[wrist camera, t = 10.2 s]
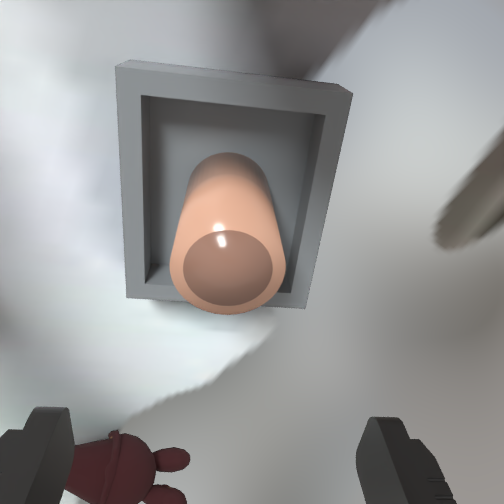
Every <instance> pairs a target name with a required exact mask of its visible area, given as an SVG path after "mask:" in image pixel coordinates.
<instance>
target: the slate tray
mask: <svg viewBox="0 0 504 504" xmlns="http://www.w3.org/2000/svg"><path fill="white" fill-rule="evenodd" d="M115 76H116V96H117V116H118V136H119V156H120V177H121V197H122V217H123V237H124V257H125V277H126V298H135V299H152V300H168V301H185V302H188V301H187V300H186V299H184V298H183V297H182V295H181V294H180V293H179V292H178V290H177V289H176V287H175V285H174V284H173V281H172V278H171V274H170V257H171V253H172V249H173V245H174V240H175V236H176V232H177V228H178V223H179V219H180V215H181V211H182V207H183V202H184V198H185V194H186V190H187V185H188V181H189V178H190V176H191V173H192V172H193V170H194V169H195V167H196V166H197V165H198V164H199V163H200V162H201V161H203V160H204V159H206V158H207V157H209V156H211V155H214V154H218V153H224V152H232V153H238V154H241V155H244V156H246V157H248V158H250V159H252V160H253V161H254V162H256V163H257V164H258V165H259V166H260V168H261V169H262V170H263V172H264V174H265V176H266V178H267V181H268V185H269V189H270V194H271V198H272V203H273V207H274V212H275V216H276V221H277V225H278V229H279V234H280V238H281V243H282V247H283V252H284V256H285V262H286V269H285V275H284V279H283V282H282V284H281V286H280V288H279V289H278V291H277V292H276V293H275V295H274V296H273V297H272V298H271V299H270V300H268V301H267V302H266V303H264V304H263V305H261V306H268V307H285V308H301V309H305V308H306V303H307V299H308V294H309V290H310V285H311V281H312V276H313V272H314V267H315V262H316V258H317V254H318V249H319V245H320V240H321V236H322V231H323V227H324V222H325V218H326V214H327V209H328V204H329V200H330V195H331V191H332V187H333V182H334V177H335V173H336V169H337V164H338V159H339V154H340V151H341V146H342V141H343V137H344V133H345V128H346V124H347V119H348V114H349V110H350V106H351V101H352V96H353V93H351V92H350V91H348V90H346V89H345V88H343V87H342V86H340V85H338V84H334V83H324V82H316V81H308V80H299V79H291V78H282V77H274V76H265V75H257V74H248V73H239V72H231V71H222V70H214V69H205V68H197V67H188V66H179V65H171V64H162V63H154V62H145V61H137V60H128V61H126V62H124V63H121V64H119V65H117V66H115Z"/></svg>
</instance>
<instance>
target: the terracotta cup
mask: <svg viewBox="0 0 504 504" xmlns="http://www.w3.org/2000/svg"><path fill="white" fill-rule="evenodd" d="M285 269H286V262H285V256H284V252H283V247H282V243H281V238H280V234H279V229H278V225H277V221H276V216H275V212H274V207H273V203H272V198H271V194H270V189H269V185H268V181H267V178H266V176H265V174H264V172H263V170H262V169H261V168H260V166H259V165H258V164H257V163H256V162H254V161H253V160H252V159H250V158H248V157H246V156H244V155H241V154H238V153H232V152H224V153H218V154H214V155H211V156H209V157H207V158H206V159H204V160H203V161H201V162H200V163H199V164H198V165H197V166H196V167H195V169H194V170H193V172H192V173H191V176H190V178H189V181H188V185H187V190H186V194H185V198H184V202H183V207H182V211H181V215H180V219H179V223H178V228H177V232H176V236H175V240H174V245H173V249H172V253H171V257H170V274H171V278H172V281H173V284H174V285H175V287H176V289H177V290H178V292H179V293H180V294H181V295H182V297H183V298H184V299H186V300H187V301H188V302H189V303H191V304H192V305H194V306H195V307H197V308H200V309H202V310H204V311H207V312H211V313H215V314H225V315H231V314H240V313H244V312H248V311H251V310H253V309H256V308H258V307H260V306H261V305H263V304H264V303H266V302H267V301H268V300H270V299H271V298H272V297H273V296H274V295H275V293H276V292H277V291H278V289H279V288H280V286H281V284H282V282H283V279H284V275H285Z"/></svg>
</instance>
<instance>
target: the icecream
mask: <svg viewBox="0 0 504 504" xmlns="http://www.w3.org/2000/svg"><path fill="white" fill-rule="evenodd" d="M108 437H109V439H105V440H100V441H95V442H90V443H85V444H80V445H75V450H74V458H73V463H72V467H71V470H70V473H69V476H68V479H67V482H66V485H65V488H64V489H65V490H67V491H69V492H70V493H72V494H74V495H76V496H78V497H79V498H81V499H83V500H85V501H87V502H88V503H90V504H138V503H139V502H141V501H143V502H144V503H146V504H187V501H186V498H185V495H184V494H183V493H182V492H181V491H180V490H178V489H176V488H172V487H169V486H168V485H159V484H157V485H153V483H154V479H155V475H156V471H159V472H175V471H179V470H183V469H184V468H185V467H186V466H187V465H189V462H190V455H189V453H188V452H186V451H185V450H184V449H180V448H175V447H173V448H166V449H161V450H158V451H156V452H153V453H152V452H151V451H150V449H149V447H148V446H147V444H146V443H145V442H143V441H142V440H141V439H140V438H138V437H136V436H133V435H129V434H126V433H124V434H119V432H118V430H116V431H111V432H110V433H109V435H108Z"/></svg>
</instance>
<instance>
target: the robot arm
mask: <svg viewBox="0 0 504 504" xmlns="http://www.w3.org/2000/svg"><path fill="white" fill-rule="evenodd" d="M74 450H75V443H74V437H73V431H72V425H71V419H70V413H69V409H68V408H67V407H36V408H34V409H33V411H32V412H31V414H30V416H29V418H28V420H27V422H26V424H25V426H24V428H23V430H12V429H8V430H7V431H6V432H5V433H4V434H3V435H2V436H1V437H0V504H59V503H60V500H61V497H62V494H63V491H64V488H65V485H66V482H67V479H68V476H69V473H70V470H71V467H72V463H73V458H74ZM356 468H357V473H358V477H359V480H360V483H361V487H362V490H363V494H364V497H365V501H366V504H457V503H456V501H455V500H454V499H453V494H452V492H451V490H450V488H449V486H448V484H447V482H445V478H444V476H443V473H442V472H441V469H440V467H439V465H438V463H437V461H436V459H435V457H434V456H433V455H432V453H431V452H430V451H429V450H428V449H427V448H426V446H425V445H424V444H423V443H422V442H421V441H420V440H419V439H410V438H409V436H408V434H407V431H406V429H405V426H404V424H403V422H402V421H401V420H400V419H399V418H395V417H370V418H369V420H368V422H367V425H366V427H365V430H364V433H363V435H362V438H361V440H360V443H359V446H358V448H357V452H356Z"/></svg>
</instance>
